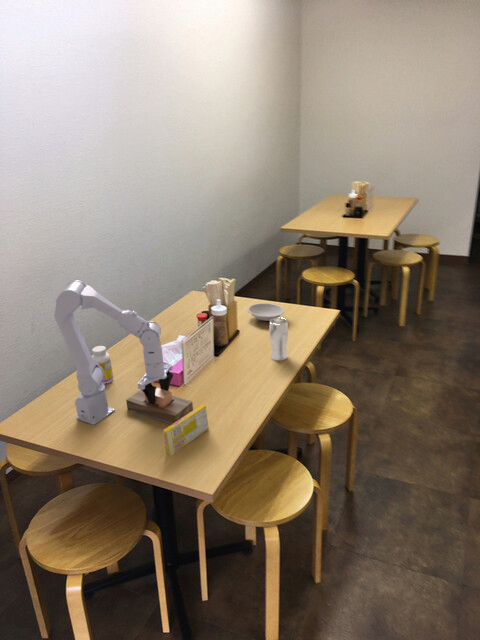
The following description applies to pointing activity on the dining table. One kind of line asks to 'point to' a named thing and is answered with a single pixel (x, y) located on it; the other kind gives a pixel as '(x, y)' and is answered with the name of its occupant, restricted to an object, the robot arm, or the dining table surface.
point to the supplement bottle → (103, 362)
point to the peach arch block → (161, 397)
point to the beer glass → (278, 338)
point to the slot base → (167, 414)
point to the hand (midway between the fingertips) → (158, 398)
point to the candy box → (185, 430)
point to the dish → (265, 311)
